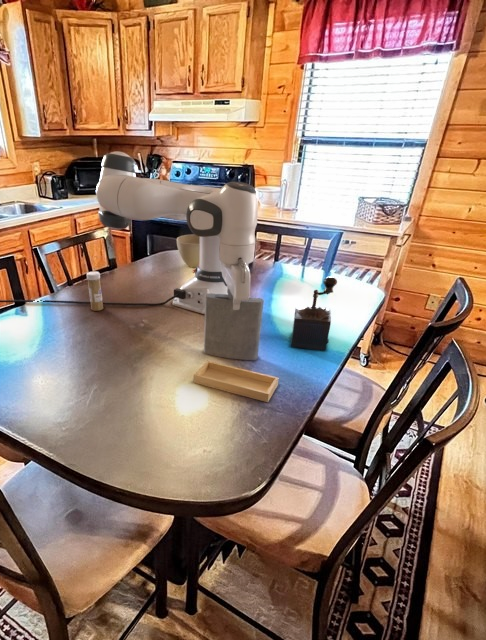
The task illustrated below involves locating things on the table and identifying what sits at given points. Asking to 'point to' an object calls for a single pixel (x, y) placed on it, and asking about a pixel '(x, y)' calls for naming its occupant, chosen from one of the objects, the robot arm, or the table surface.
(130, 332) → the table surface
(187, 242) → the flower pot
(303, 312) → the dark brown coffee grinder
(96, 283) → the sprinkles bottle
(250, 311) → the hip flask
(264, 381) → the flask stand
